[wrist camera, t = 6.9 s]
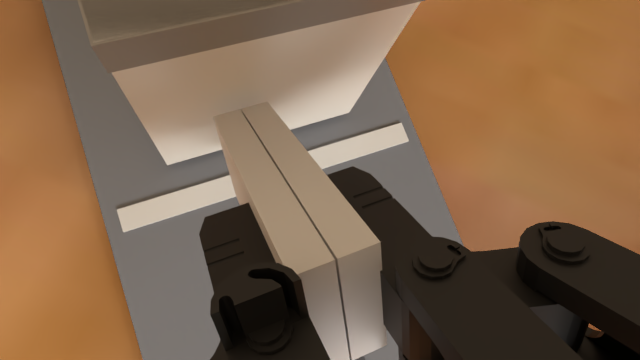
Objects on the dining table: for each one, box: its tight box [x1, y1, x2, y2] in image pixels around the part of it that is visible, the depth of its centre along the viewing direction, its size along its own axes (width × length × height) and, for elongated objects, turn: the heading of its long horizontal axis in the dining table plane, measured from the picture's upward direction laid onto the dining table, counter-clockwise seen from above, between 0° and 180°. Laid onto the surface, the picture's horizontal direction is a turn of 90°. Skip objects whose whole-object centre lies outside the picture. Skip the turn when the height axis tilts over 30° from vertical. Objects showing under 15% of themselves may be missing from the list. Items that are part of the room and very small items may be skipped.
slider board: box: [42, 0, 463, 360], centre depth 18 cm, size 32×12×2 cm, turn 20°
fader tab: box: [78, 0, 425, 165], centre depth 12 cm, size 4×7×8 cm, turn 110°
